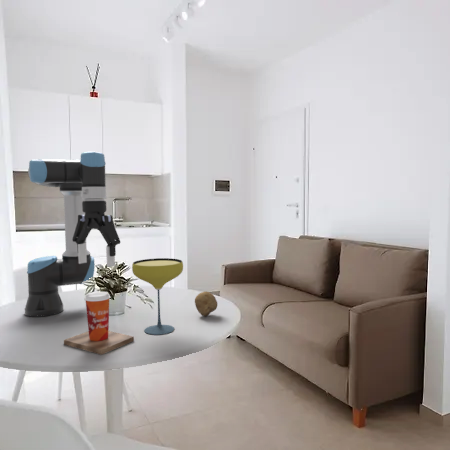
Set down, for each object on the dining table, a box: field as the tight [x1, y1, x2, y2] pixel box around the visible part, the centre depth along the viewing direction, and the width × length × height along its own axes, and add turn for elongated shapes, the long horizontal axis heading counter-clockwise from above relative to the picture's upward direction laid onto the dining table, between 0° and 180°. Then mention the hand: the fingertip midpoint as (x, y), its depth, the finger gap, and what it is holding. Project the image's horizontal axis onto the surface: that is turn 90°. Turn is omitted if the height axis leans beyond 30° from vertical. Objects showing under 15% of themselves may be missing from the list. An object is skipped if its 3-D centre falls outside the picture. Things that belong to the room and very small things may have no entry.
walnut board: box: [63, 330, 135, 356], centre depth 137 cm, size 18×14×2 cm
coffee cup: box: [84, 291, 112, 341], centre depth 137 cm, size 8×8×15 cm
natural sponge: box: [194, 291, 218, 317], centre depth 166 cm, size 9×9×10 cm
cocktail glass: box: [131, 257, 184, 336], centre depth 149 cm, size 18×18×25 cm
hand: (96, 264), depth 136 cm, fingers open, 13 cm apart
